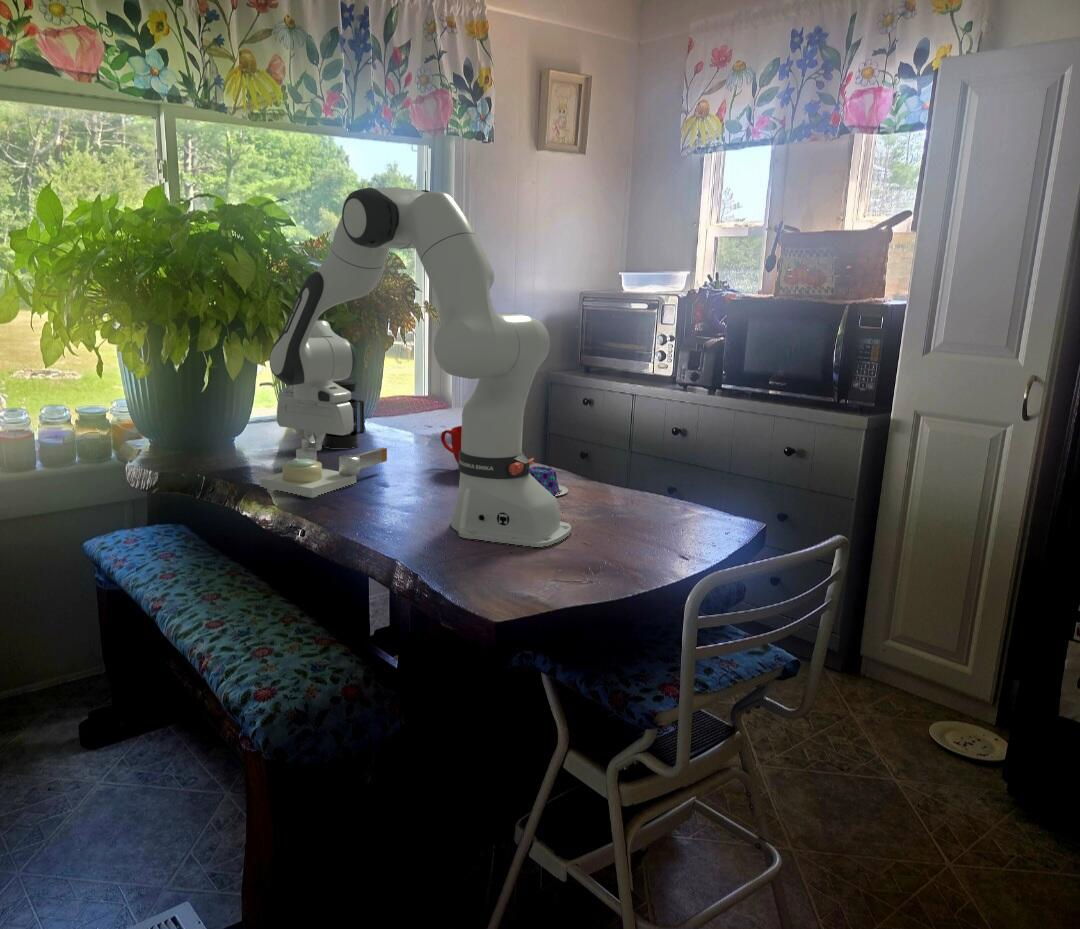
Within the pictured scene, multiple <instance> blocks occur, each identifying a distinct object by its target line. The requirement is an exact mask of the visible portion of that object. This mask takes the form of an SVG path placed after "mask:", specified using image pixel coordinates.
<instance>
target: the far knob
mask: <svg viewBox="0 0 1080 929" xmlns="http://www.w3.org/2000/svg"><path fill="white" fill-rule="evenodd" d="M317 453H318V452H317V450H316V449H314V448H309V447H308V442H307V440H306V438H301V447H300V448H297V449H295V458H296V459H310V460H314V461H318V457H317V456H318V454H317Z"/></svg>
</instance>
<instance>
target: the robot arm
mask: <svg viewBox="0 0 1080 929" xmlns="http://www.w3.org/2000/svg"><path fill="white" fill-rule="evenodd" d="M335 229H336V230H335V231H334V235H333V238H332V241H331V245H330V248H329V252H328V254H327V256H326V258H325V259H324V260H323V262H322V263H321V265H320V266H319V267H318V268H317V269H315V271H313V272H312V273H310V274H309V275H308V276H307V277H306V278H305V280H304V282H303V284H302V285H301V287H300V290H299V292H298V293H297V296H296V299H295V301H294V303H293V305H292V308H291V311H290V313H289V315H288V317H287V319H286V322H285V325H284V327H283V329H282V330H281V334H280V335H279V336H278V338H277V339H276V341H275V343H274V345H272V347H271V350H270V354H269V368H270V371H271V373H272V374H273V376H274V377H275V378H276V379H278V381H279V382H281V383H283V384H284V385H285V386H287V387H283V388H282V389H280V390H279V392H278V401H277V407H276V423H277V425H278V426H279V427H280V428H288V429H295V430H300V431H301V430H302V431H303V436H304V439H306V440H307V442H308V447H309V448H314V449H316V450H317V451H321V450H322V448H323V447H322V444H323V439H324V437H325V433H328V434H335V435H346V434H350V433H351V432H352V431H354V426H353V420H354V419H353V408H352V406H351V404H350V403H349V402H348V400H350V399H352V392H350V391H348V390H346V389H344V388H342V387H341V386H339V385H337V384H336V383H333V381H338V380H349V379H350V377H351V376H352V375H353V374H354V373H355V371H356V368H357V365H358V354H357V350H356V348H355V346H354V345H353V344H352V343H351V341H350V340H348V339H347V338H345V337H344V338H343V337H341V336H339V334H336V333H335V332H334V331H333V329H332V328H331V325H330V322H328V321H327V320H325V319H319V318H320V317H321V315H323V313H324V312H325V311H328V310H329V309H330V308H332V307H335V306H337V305H339V304H343V303H346V302H350V301H353V300H356V299H360V298H363V297H364V296H366V295H368V294H369V293H371V292H372V291H374V289H375V288H376V287H377V285H378V284H379V282H380V280H381V279H382V275H383V272H384V270H385V265H386V262H387V258H388V255H389V254H388V253H389V250H390V249H398V250H409V249H415V251H416V254H417V255H418V256H417V257H418V258H419V260H420V263H421V266H422V267H423V268H424V272H425V273H426V276H427V278H428V280H429V282H430V284H431V287H432V289H433V291H434V294H435V297H436V299H437V302H438V307H439V312H440V313H439V314H440V325H439V328H437V331H436V334H435V336H434V340H433V351H434V352H433V353H434V356H435V360H436V361H437V364H438V366H439V367H440V368H441V369H442V370H443V371H444V372H445V373H446V374H448V375H450V376H453V377H459V378H464V379H468V380H469V379H470V380H476V379H478V381H477V385H476V388H475V390H474V391H473V394H472V395H471V397H470V398H469V399H468V400H467V401H466V403H465V404H464V406H463V408H462V412H461V426H462V439H461V450H460V451H459V460H458V463H457V465H458V466H457V468H458V469H457V472H458V478H459V482H458V492H457V496H456V497H457V498H456V504H455V507H454V511H453V515H452V519H451V520H450V521H451V522H450V526H451V528H452V529H453V530H455V531H456V532H457V531H458V532H457V534H459V535H458V537H459V536H460V537H463V538H471V539H479V540H485V541H484V542H486V541H492V542H491V543H494V542H501V543H509V544H516V545H515V546H517V545H524V546H523V547H525V546H531V547H530V548H532V547H542V548H544V547H543V546H547V545H551V544H554V543H557V542H559V541H561V540H562V541H564V540H566V539H567V538H568V537H569V536H570V535H571V534H572V526H571V524H570V523H568V522H564V521H561V515H560V507H559V503H558V500H557V498H556V496H553V495H552V494H551V493H550V492H549V491H548V490H546V489H545V488H544V487H543V486H542V485H541V484H540V483H539V482H538V481H537V480H536V479H535V478H534V477H533V476H532V475H531V474H530V473H529V472H530V471H529V469H530V466H531V465H534V464H535V462H533V461H534V460H535V458H534V457H532V458H529V459H528V458H527V456H525V454H524V452H523V451H522V450H523V449H522V448H523V446H522V445H523V433H524V432H523V430H524V415H525V409H526V405H527V400H528V397H529V394H530V389H531V388H532V387H531V386H532V384H533V381H534V378H535V375H536V373H537V371H538V370H539V368H540V367H541V365H542V364H543V363H544V361H545V360H546V359H547V358H548V355H549V352H550V347H551V339H550V334H549V331H548V329H547V327H546V326H545V325H544V324H543V323H542V322H541V321H540V320H538V319H537V318H534V317H532V316H528V315H526V314H522V313H518V312H517V313H515V312H513V313H498V312H497V311H496V310H495V309H494V307H493V303H492V301H491V300H492V299H491V295H490V294H491V293H490V290H491V288H492V286H493V285H494V282H495V273H494V270H493V267H492V265H491V263H490V261H489V259H488V257H487V255H486V253H485V251H484V249H483V246H482V244H481V243H480V241H479V238H478V236H477V234H476V232H475V231H474V229H473V227H472V225H471V223H470V222H469V219H468V218H467V217H466V214H464V212H463V211H462V209H461V208H460V206H459V205H458V204H457V202H456V201H455V199H454V198H453V197H452V196H451V195H450V194H448V193H447V192H444V191H441V190H431V191H430V190H427V189H422V190H418V189H412V188H402V187H398V186H397V187H396V186H395V187H394V186H392V187H391V186H389V187H388V186H387V187H377V188H374V187H363V188H360V189H356V190H354V191H351V192H350V193H349V194H348V195H347V197H346V198H345V200H344V203H343V206H342V210H341V217H340V219H339V222H338V224H337V226H336V228H335ZM289 386H292V388H289ZM570 533H571V534H570ZM569 534H570V535H569ZM567 536H568V537H567ZM460 537H459V538H460ZM566 537H567V538H566ZM463 538H462V539H463ZM565 538H566V539H565ZM471 539H470V540H471ZM563 539H564V540H563ZM562 541H561V542H562ZM501 543H500V544H501ZM559 543H560V542H559ZM509 544H508V545H509ZM557 544H558V543H557ZM554 545H555V544H554ZM551 546H552V545H551ZM547 547H548V546H547Z"/></svg>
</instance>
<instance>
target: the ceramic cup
mask: <svg viewBox="0 0 1080 929" xmlns="http://www.w3.org/2000/svg"><path fill="white" fill-rule="evenodd" d="M446 434H449V435H450V438H451V439H450V440H451V446H450V445H449V443H448V442H447V440H446ZM461 439H462V425H458V426H454V427H452V428H451V429H446V430H444V431H442V432H441V435H440V441H441V444H442V445H443V447H444V448H445V450H447V451H449V452H450V453H452V454H453V457H454V459H455V461H456V463H457V464H458V460H459V451H460V450H461Z"/></svg>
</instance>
